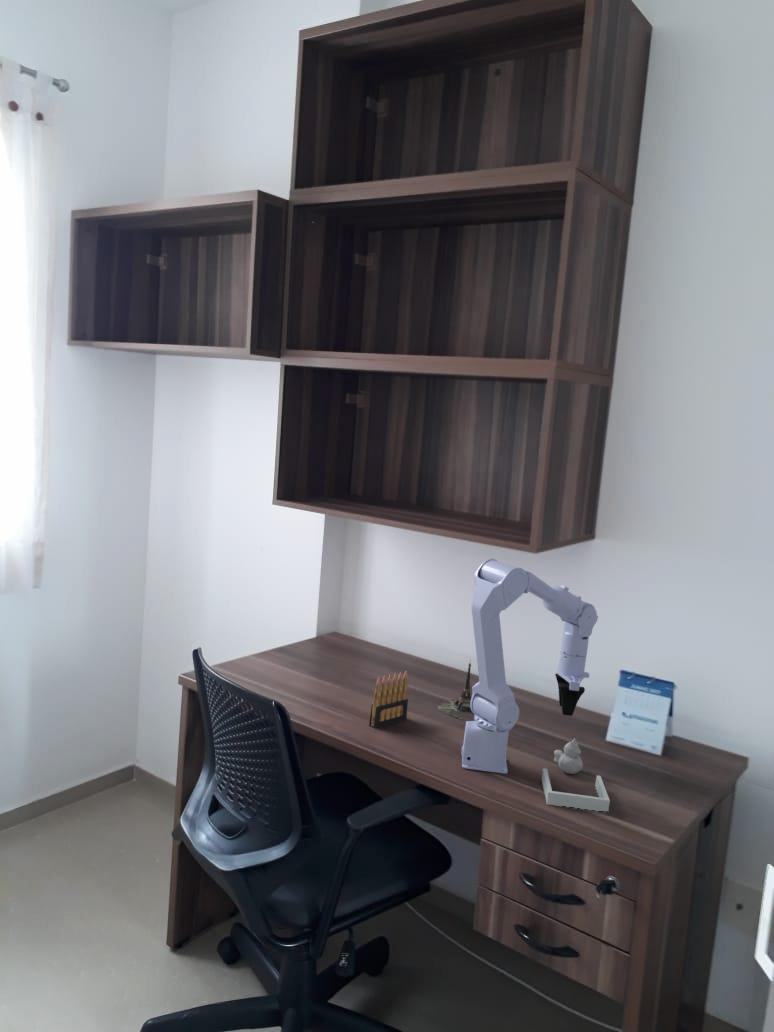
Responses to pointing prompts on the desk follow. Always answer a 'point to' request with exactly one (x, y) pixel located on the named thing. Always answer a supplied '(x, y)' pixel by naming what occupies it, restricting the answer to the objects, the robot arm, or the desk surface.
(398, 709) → the ammunition clip
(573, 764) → the rubber duck
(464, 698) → the eiffel tower figurine
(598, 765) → the desk surface
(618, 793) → the desk surface
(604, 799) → the bay
